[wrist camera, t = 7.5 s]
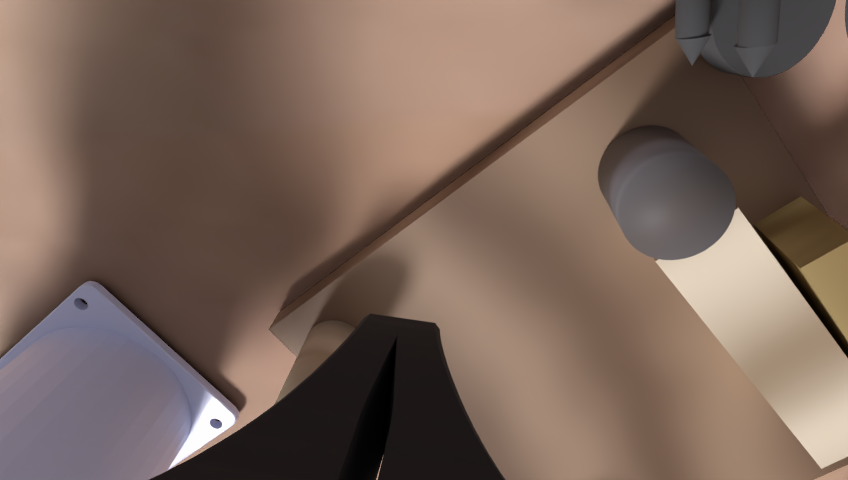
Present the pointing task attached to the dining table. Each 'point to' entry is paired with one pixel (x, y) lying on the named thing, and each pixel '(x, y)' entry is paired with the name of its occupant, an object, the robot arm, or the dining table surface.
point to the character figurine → (751, 32)
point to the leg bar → (729, 280)
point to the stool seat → (593, 289)
